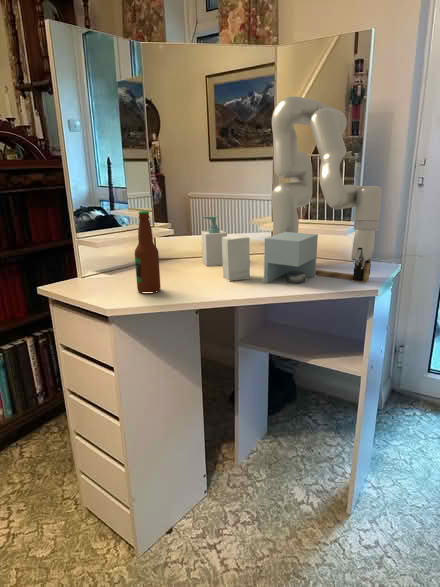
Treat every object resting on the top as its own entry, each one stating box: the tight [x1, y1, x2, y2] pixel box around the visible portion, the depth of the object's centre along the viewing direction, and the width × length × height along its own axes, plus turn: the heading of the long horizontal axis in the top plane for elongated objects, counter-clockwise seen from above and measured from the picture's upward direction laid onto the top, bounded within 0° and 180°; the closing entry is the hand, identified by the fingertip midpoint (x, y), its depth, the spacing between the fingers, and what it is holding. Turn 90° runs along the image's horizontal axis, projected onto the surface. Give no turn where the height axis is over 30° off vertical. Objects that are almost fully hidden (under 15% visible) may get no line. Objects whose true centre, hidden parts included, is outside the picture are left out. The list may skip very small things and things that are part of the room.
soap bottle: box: [201, 215, 228, 267], centre depth 163 cm, size 9×9×19 cm
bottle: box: [134, 210, 162, 293], centre depth 126 cm, size 7×7×25 cm
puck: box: [286, 271, 306, 285], centre depth 137 cm, size 6×6×3 cm
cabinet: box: [263, 232, 319, 284], centre depth 137 cm, size 12×16×15 cm
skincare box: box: [222, 234, 251, 281], centre depth 140 cm, size 8×6×15 cm
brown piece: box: [315, 262, 371, 284], centre depth 140 cm, size 19×4×6 cm, turn 57°
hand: (361, 277), depth 137 cm, fingers open, 7 cm apart
